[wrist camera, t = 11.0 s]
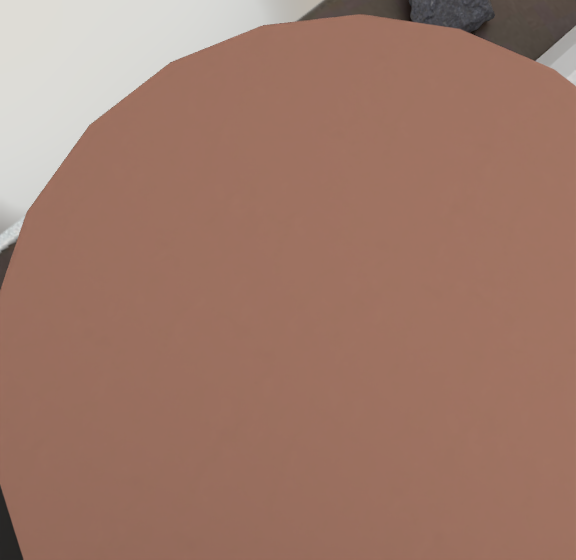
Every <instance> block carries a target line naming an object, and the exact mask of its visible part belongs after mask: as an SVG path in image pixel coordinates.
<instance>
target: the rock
mask: <svg viewBox="0 0 576 560" xmlns="http://www.w3.org/2000/svg"><path fill="white" fill-rule="evenodd" d="M409 4H410V6H412V11H411V15H410V17H411V19H412V22H417V23H423V24H430V25H437V26H444V27H450V28H457V29H461V30H463V31H466V32H468V33H470V32H472V31H474V30H477V29H478V28H479V27H480V26H481V24H482V23H484V22H485V21H489V20H490V19H492V18H494V16H495V14H494V11H493V10H492V6H491V2H490V0H409Z"/></svg>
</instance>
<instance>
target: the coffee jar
mask: <svg viewBox="0 0 576 560" xmlns="http://www.w3.org/2000/svg"><path fill="white" fill-rule="evenodd" d="M0 486H1V489H2V492H3V495H4V498H5V502H6V505H7V508H8V511H9V514H10V518H11V521H12V524H13V527H14V531H15V534H16V537H17V540H18V543H19V547H20V550H21V553H22V556H23V559H24V560H576V86H575V85H574V84H572V83H571V82H570V81H568V80H567V79H566V78H565V77H563V76H562V75H561V74H559V73H558V72H557V71H556V70H554V69H552V68H550V67H548V66H545V65H543V64H541V63H538V62H536V61H534V60H531V59H529V58H527V57H524V56H522V55H520V54H517V53H515V52H513V51H510V50H508V49H506V48H503V47H501V46H498V45H496V44H494V43H491V42H489V41H487V40H484V39H482V38H480V37H477V36H475V35H473V34H470V33H468V32H466V31H463V30H461V29H457V28H450V27H444V26H437V25H430V24H423V23H417V22H410V21H403V20H396V19H390V18H383V17H376V16H369V15H363V14H359V15H350V16H341V17H332V18H324V19H315V20H306V21H297V22H288V23H280V24H271V25H263V26H260V27H258V28H255V29H253V30H250V31H248V32H246V33H243V34H240V35H238V36H235V37H233V38H230V39H228V40H225V41H223V42H220V43H218V44H215V45H213V46H210V47H208V48H205V49H203V50H200V51H198V52H195V53H193V54H190V55H188V56H186V57H183V58H180V59H178V60H176V61H173V62H170V63H169V64H168V65H167V66H165V67H164V68H163V69H161V70H160V71H159V72H158V73H156V74H155V75H154V76H152V77H151V78H150V79H148V80H147V81H146V82H145V83H143V84H142V85H141V86H139V87H138V88H137V89H136V90H134V91H133V92H132V93H131V94H129V95H128V96H127V97H125V98H124V99H123V100H121V101H120V102H119V103H118V104H117V105H115V106H114V107H112V108H111V109H110V110H109V111H107V112H106V113H105V114H103V115H102V116H101V117H100V118H98V119H97V120H96V121H94V122H93V123H92V124H91V125H89V127H88V128H87V130H86V131H85V132H84V134H83V135H82V136H81V138H80V139H79V141H78V142H77V143H76V145H75V146H74V147H73V149H72V150H71V152H70V153H69V154H68V156H67V157H66V159H65V160H64V161H63V163H62V164H61V166H60V167H59V168H58V170H57V171H56V172H55V174H54V175H53V177H52V178H51V179H50V181H49V182H48V184H47V185H46V186H45V188H44V189H43V190H42V192H41V193H40V195H39V196H38V197H37V199H36V200H35V202H34V203H33V204H32V206H31V207H30V208H29V210H28V211H27V213H26V216H25V219H24V222H23V225H22V228H21V231H20V234H19V237H18V240H17V243H16V246H15V249H14V252H13V255H12V257H11V260H10V263H9V266H8V269H7V272H6V275H5V278H4V281H3V284H2V287H1V290H0Z"/></svg>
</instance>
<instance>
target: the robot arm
mask: <svg viewBox="0 0 576 560" xmlns="http://www.w3.org/2000/svg"><path fill="white" fill-rule="evenodd" d="M0 560H24V559H23V556H22V553H21V550H20V547H19V543H18V540H17V537H16V534H15V531H14V527H13V524H12V521H11V518H10V514H9V511H8V508H7V505H6V502H5V498H4V495H3V492H2V489H1V486H0Z"/></svg>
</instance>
